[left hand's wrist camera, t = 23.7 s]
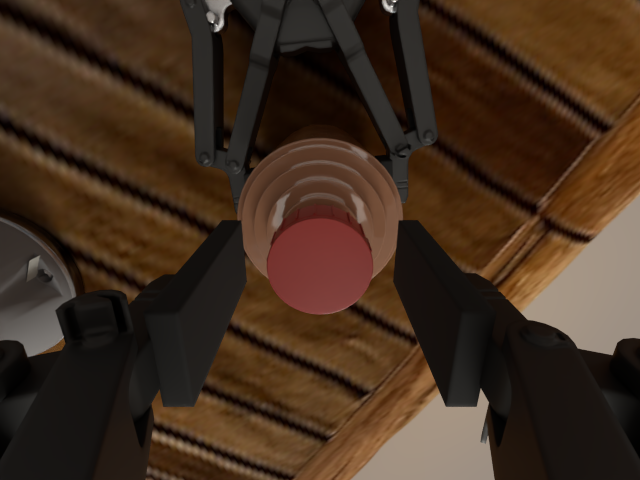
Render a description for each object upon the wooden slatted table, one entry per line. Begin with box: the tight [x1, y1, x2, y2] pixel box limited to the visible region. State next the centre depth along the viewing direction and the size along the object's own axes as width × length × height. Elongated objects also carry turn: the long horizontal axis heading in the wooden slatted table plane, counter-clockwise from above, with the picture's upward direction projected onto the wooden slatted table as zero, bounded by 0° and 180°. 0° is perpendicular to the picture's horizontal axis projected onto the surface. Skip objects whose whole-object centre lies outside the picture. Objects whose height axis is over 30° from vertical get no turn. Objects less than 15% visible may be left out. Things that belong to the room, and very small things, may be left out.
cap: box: [267, 204, 373, 314], centre depth 13 cm, size 4×4×2 cm
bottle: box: [237, 124, 403, 279], centre depth 22 cm, size 8×8×18 cm
